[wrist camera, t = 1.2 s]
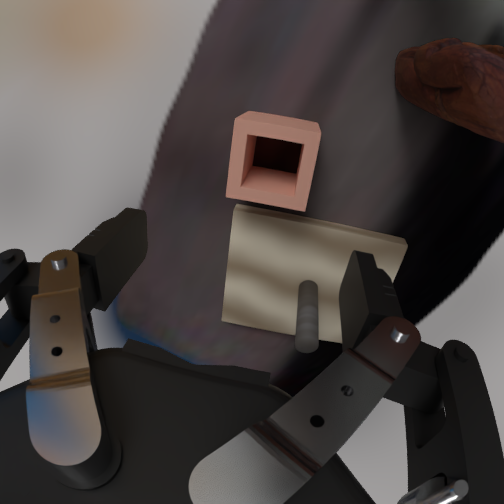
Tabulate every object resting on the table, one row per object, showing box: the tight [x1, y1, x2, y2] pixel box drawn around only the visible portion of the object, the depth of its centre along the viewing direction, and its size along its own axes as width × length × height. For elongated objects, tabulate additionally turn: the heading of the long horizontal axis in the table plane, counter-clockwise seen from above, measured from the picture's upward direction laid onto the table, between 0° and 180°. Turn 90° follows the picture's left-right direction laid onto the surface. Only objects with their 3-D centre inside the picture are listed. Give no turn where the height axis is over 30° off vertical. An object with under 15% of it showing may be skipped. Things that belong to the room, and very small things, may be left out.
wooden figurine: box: [395, 38, 504, 143], centre depth 13 cm, size 12×6×18 cm, turn 93°
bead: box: [226, 111, 321, 212], centre depth 25 cm, size 6×6×6 cm
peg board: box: [222, 204, 408, 353], centre depth 30 cm, size 14×17×10 cm
